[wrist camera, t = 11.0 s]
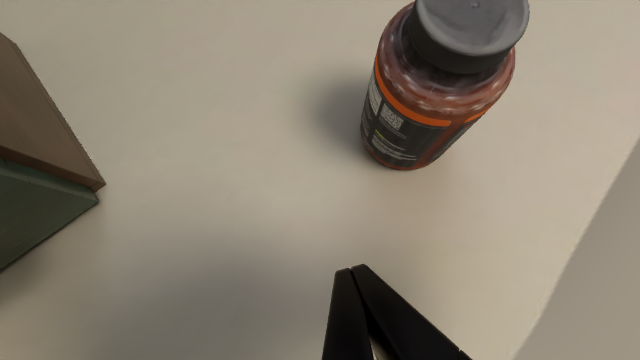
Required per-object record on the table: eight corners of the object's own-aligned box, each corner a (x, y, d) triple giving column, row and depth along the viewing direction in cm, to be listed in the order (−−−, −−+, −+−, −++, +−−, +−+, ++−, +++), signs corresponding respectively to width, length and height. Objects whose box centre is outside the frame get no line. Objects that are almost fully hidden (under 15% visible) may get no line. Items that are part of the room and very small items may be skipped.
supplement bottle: (453, 102, 23) (572, -45, 12) (437, 183, 22) (555, 100, 11) (369, 82, 23) (410, -78, 12) (348, 159, 22) (374, 56, 11)
